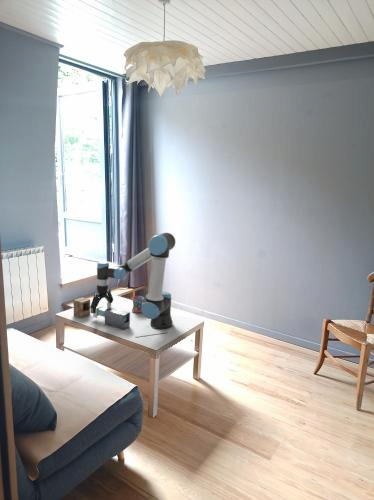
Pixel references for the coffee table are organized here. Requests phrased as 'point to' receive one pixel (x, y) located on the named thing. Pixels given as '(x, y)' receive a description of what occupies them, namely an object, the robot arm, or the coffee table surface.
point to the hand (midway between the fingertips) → (102, 314)
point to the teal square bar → (103, 312)
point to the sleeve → (117, 318)
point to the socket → (81, 307)
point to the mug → (137, 303)
